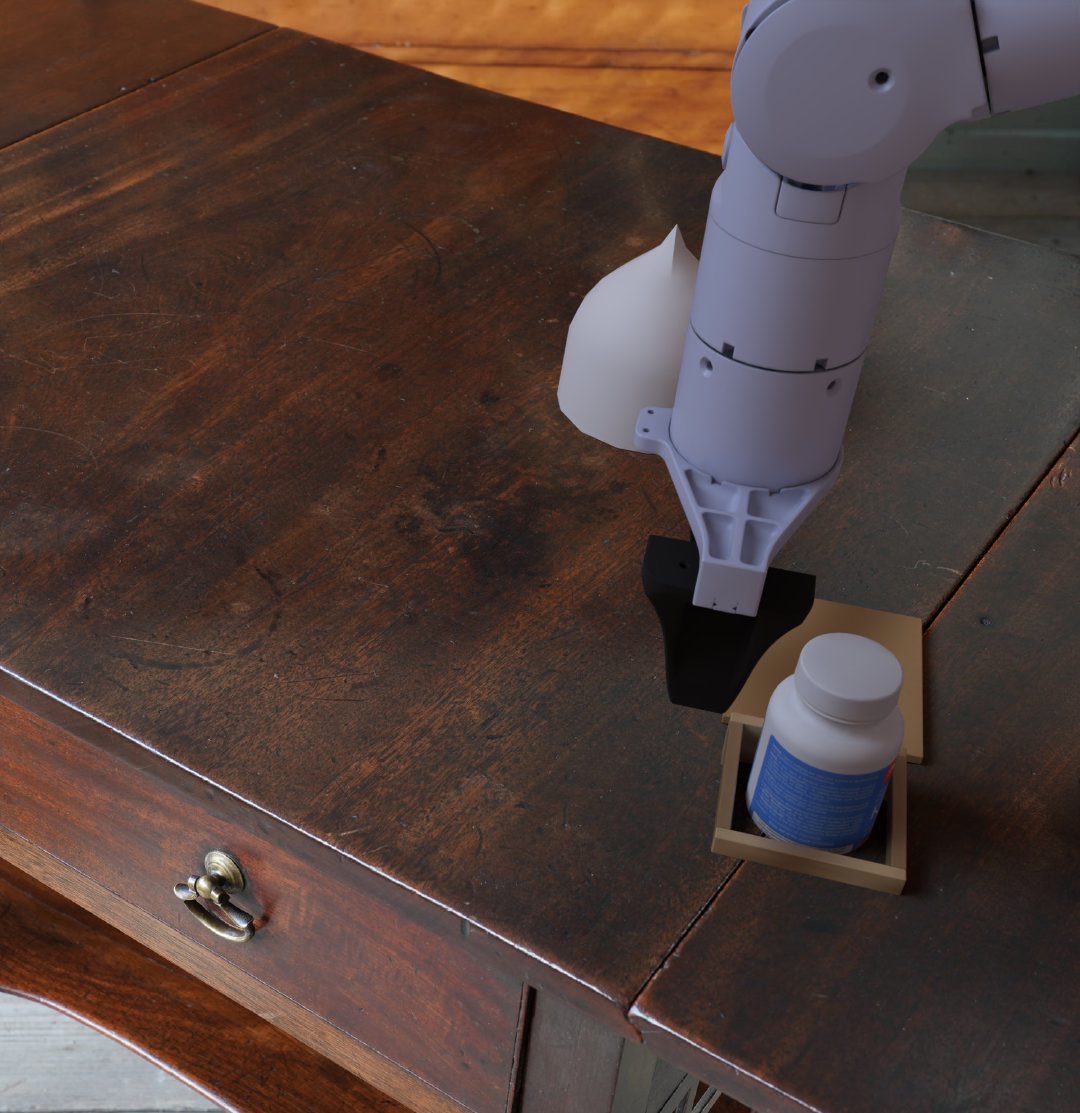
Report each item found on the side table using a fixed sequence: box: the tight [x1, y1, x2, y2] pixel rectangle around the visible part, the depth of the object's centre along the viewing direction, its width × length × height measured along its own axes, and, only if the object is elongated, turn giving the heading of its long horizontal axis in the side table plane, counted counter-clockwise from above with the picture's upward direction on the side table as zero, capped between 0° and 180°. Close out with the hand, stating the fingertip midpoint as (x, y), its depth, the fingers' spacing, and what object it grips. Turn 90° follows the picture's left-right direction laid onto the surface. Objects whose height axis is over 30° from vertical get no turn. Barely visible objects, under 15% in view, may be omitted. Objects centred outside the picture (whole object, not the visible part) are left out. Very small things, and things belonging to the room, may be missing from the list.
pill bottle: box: [744, 633, 905, 855], centre depth 61 cm, size 6×5×10 cm
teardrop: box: [556, 223, 700, 455], centre depth 86 cm, size 11×11×12 cm
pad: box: [721, 597, 924, 765], centre depth 71 cm, size 9×10×1 cm
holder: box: [710, 712, 908, 896], centre depth 63 cm, size 8×8×2 cm
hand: (709, 635), depth 56 cm, fingers open, 7 cm apart
